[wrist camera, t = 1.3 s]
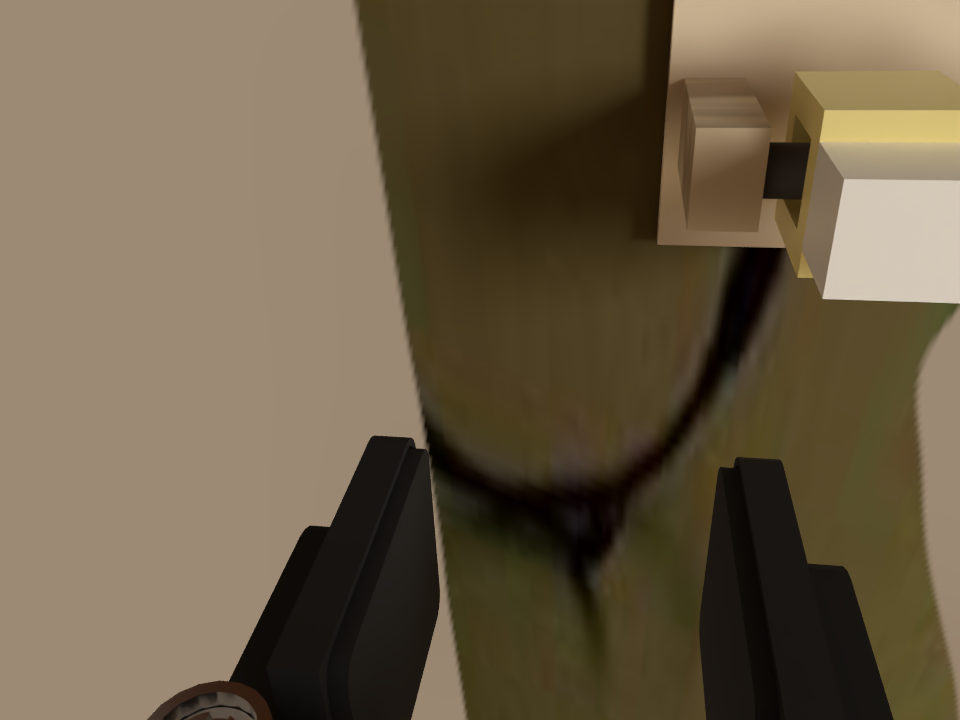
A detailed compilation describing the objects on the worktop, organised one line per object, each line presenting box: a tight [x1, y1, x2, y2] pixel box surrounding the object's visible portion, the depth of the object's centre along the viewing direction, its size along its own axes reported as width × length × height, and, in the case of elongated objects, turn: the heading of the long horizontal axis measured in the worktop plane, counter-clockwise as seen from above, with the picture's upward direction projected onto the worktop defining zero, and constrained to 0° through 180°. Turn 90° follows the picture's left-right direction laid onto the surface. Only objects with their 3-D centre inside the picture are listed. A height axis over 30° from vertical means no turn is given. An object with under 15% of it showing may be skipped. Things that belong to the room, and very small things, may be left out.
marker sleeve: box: [774, 71, 960, 303], centre depth 23 cm, size 5×4×8 cm
